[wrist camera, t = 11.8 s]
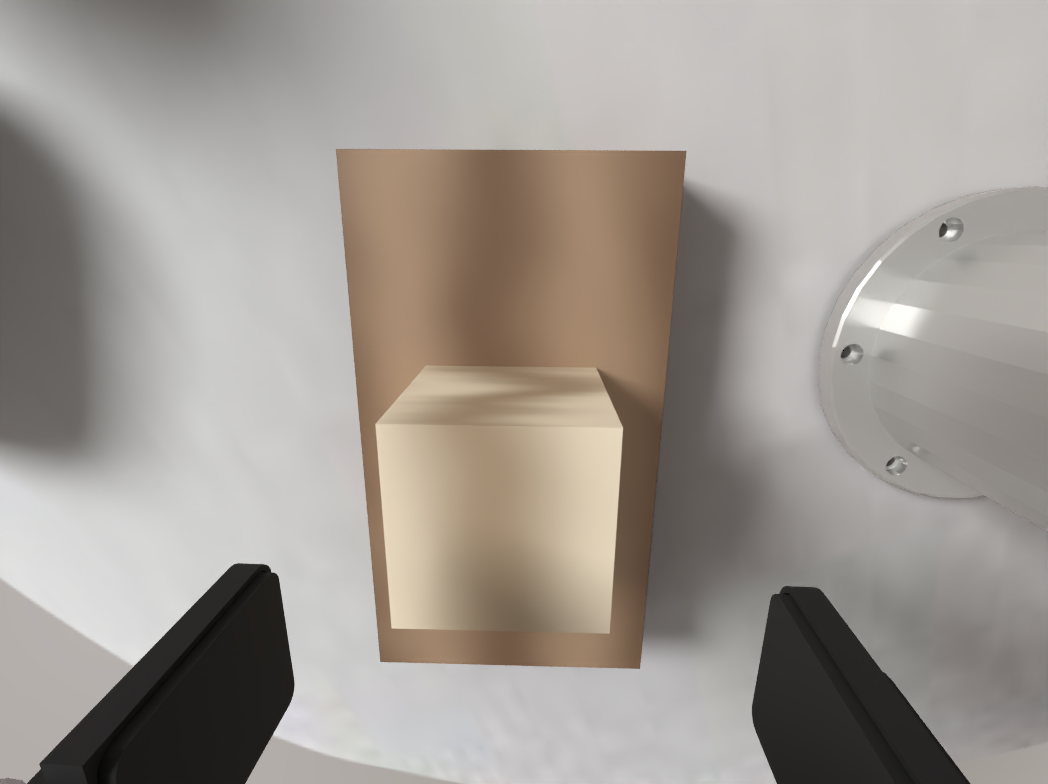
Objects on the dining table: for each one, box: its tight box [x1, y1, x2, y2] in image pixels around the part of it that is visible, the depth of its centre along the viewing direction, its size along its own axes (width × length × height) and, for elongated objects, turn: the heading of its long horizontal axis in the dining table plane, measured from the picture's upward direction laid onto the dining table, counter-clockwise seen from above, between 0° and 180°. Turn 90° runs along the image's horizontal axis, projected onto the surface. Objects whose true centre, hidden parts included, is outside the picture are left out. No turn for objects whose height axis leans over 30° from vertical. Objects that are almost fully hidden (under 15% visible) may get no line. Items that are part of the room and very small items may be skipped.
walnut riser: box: [336, 149, 686, 669], centre depth 21 cm, size 11×20×4 cm, turn 179°
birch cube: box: [375, 366, 623, 634], centre depth 16 cm, size 6×6×6 cm
